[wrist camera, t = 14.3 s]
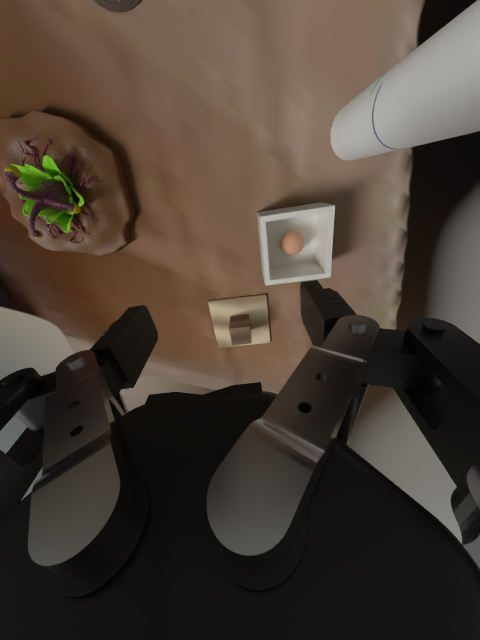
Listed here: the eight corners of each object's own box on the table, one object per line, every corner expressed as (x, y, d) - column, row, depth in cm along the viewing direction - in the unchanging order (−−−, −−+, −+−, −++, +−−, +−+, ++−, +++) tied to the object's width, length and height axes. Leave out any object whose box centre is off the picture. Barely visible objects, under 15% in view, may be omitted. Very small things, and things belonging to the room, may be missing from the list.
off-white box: (256, 212, 39) (259, 216, 33) (320, 202, 38) (335, 205, 32) (262, 271, 44) (265, 285, 38) (318, 264, 43) (330, 277, 37)
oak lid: (208, 299, 48) (204, 313, 43) (265, 292, 47) (268, 305, 42) (218, 345, 54) (216, 362, 49) (269, 339, 53) (272, 356, 48)
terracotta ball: (277, 230, 40) (281, 234, 36) (301, 226, 39) (306, 230, 36) (279, 253, 42) (282, 259, 38) (301, 250, 41) (306, 256, 38)
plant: (128, 128, 34) (82, 104, 24) (139, 259, 43) (110, 280, 34) (-16, 103, 32) (-126, 68, 23) (29, 243, 42) (-34, 261, 33)
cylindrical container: (323, 156, 35) (456, 107, 13) (341, 92, 31) (562, -116, 10) (368, 164, 35) (566, 130, 14) (390, 103, 32) (705, -74, 10)
